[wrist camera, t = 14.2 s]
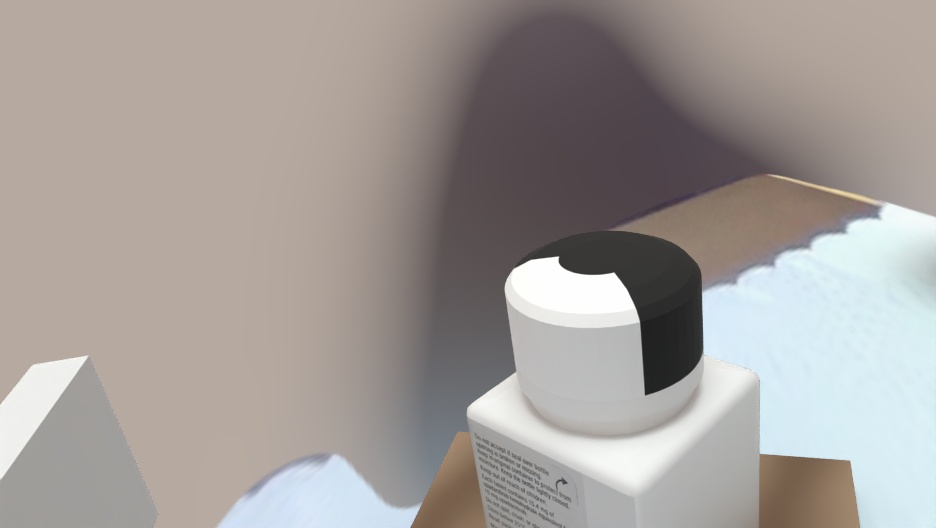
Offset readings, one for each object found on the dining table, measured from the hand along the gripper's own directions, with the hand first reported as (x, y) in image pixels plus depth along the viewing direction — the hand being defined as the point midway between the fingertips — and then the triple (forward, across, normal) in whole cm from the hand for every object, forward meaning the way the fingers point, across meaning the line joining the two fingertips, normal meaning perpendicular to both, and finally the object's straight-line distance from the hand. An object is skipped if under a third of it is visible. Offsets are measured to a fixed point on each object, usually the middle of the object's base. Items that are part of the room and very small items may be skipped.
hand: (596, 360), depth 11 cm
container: (+15, +2, -20) cm, 25 cm away
